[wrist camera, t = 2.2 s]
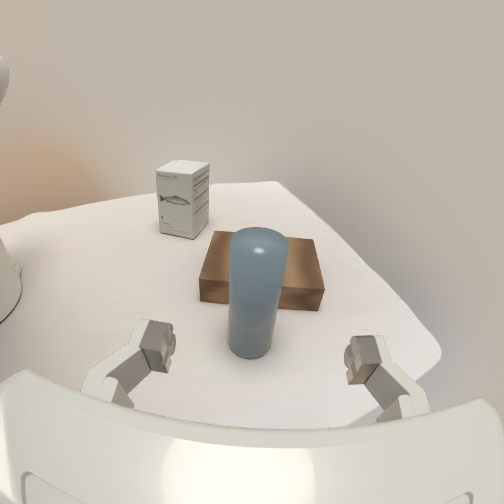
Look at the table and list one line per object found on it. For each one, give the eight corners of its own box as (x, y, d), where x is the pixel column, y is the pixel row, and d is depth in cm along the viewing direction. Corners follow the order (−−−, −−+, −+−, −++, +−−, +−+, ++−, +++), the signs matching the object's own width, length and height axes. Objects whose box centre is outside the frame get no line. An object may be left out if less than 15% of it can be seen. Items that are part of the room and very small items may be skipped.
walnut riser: (200, 301, 36) (198, 278, 34) (214, 251, 46) (214, 230, 44) (317, 310, 36) (324, 289, 34) (308, 259, 46) (313, 239, 44)
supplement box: (159, 233, 49) (153, 169, 42) (177, 216, 55) (175, 158, 48) (194, 241, 48) (191, 173, 41) (210, 222, 54) (210, 161, 47)
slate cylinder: (226, 357, 29) (226, 256, 21) (230, 324, 33) (233, 225, 25) (270, 360, 29) (291, 261, 21) (270, 327, 33) (287, 229, 25)
